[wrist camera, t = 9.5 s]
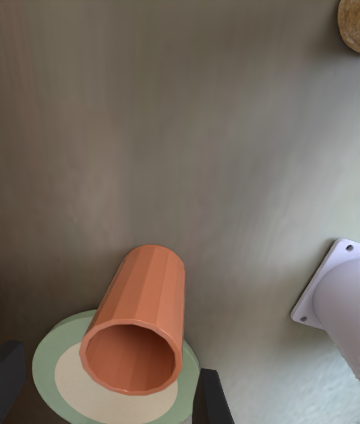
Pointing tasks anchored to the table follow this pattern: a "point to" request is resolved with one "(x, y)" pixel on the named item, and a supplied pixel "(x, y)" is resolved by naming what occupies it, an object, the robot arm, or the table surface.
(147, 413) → the plate
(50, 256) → the table surface
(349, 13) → the sprinkles bottle
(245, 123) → the table surface
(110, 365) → the cup
